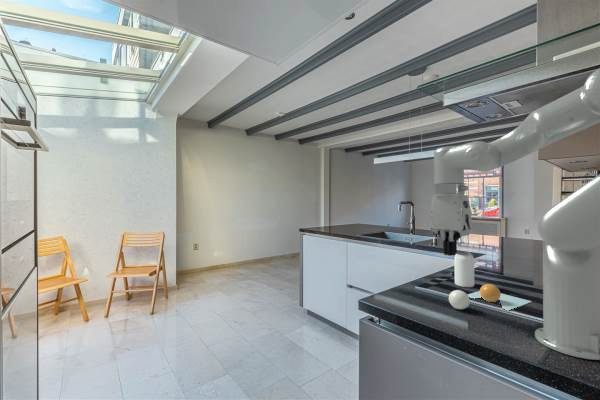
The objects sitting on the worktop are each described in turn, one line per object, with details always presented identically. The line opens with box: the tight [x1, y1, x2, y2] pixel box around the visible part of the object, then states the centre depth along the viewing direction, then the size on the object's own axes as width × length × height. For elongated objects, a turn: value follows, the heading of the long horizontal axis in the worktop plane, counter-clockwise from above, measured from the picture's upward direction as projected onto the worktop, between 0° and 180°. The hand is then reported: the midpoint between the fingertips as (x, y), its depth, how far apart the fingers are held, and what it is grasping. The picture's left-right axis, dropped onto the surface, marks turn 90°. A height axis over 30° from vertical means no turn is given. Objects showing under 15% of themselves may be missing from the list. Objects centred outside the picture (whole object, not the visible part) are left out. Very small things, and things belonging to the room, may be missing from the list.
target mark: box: [466, 290, 533, 312], centre depth 92 cm, size 14×14×1 cm
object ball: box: [479, 283, 501, 302], centre depth 91 cm, size 6×6×6 cm
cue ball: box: [448, 289, 471, 310], centre depth 85 cm, size 6×6×6 cm
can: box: [453, 251, 475, 289], centre depth 108 cm, size 6×6×12 cm
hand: (450, 254), depth 81 cm, fingers closed
